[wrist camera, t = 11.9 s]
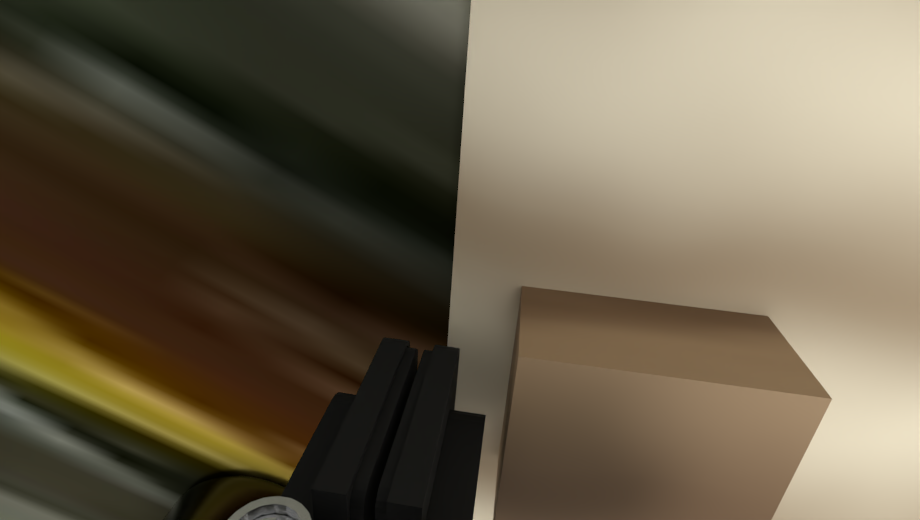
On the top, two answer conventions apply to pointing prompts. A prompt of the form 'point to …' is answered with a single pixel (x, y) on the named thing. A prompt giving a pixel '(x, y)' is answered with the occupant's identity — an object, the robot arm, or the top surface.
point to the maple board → (706, 202)
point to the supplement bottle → (221, 497)
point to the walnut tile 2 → (650, 412)
